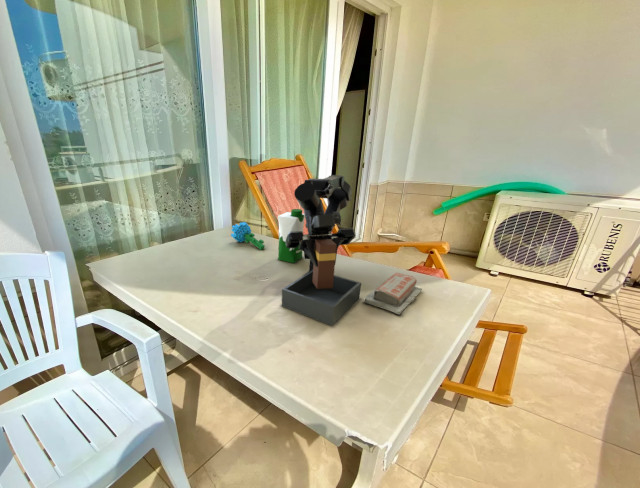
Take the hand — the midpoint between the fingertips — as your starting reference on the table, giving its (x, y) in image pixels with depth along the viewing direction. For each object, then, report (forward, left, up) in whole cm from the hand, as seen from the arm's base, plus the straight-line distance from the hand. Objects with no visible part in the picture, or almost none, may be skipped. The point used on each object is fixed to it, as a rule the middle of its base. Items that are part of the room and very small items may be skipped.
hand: (325, 265), depth 83 cm
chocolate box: (-1, -1, -7) cm, 7 cm away
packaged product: (-17, +14, -12) cm, 25 cm away
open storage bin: (-1, -1, -12) cm, 12 cm away
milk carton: (-24, -27, -12) cm, 38 cm away
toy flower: (-27, -51, -12) cm, 59 cm away
